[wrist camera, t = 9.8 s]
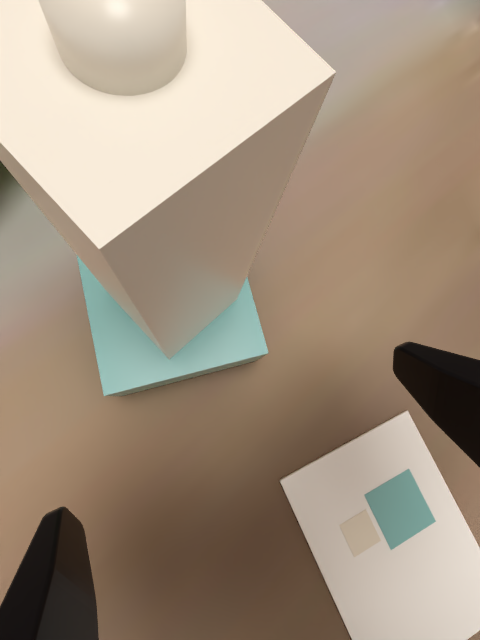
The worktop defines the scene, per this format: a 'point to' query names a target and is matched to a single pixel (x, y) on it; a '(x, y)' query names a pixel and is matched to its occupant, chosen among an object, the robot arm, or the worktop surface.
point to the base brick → (148, 360)
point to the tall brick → (157, 141)
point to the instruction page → (389, 537)
